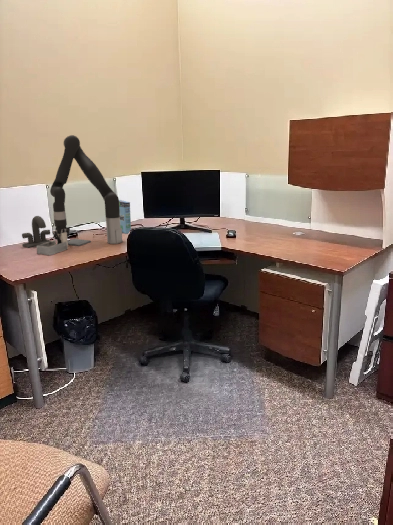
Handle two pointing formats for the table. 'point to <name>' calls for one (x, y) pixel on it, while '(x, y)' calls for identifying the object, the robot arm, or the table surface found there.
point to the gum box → (125, 216)
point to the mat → (78, 242)
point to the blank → (63, 238)
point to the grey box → (51, 248)
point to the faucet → (36, 233)
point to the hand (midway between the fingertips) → (62, 244)
